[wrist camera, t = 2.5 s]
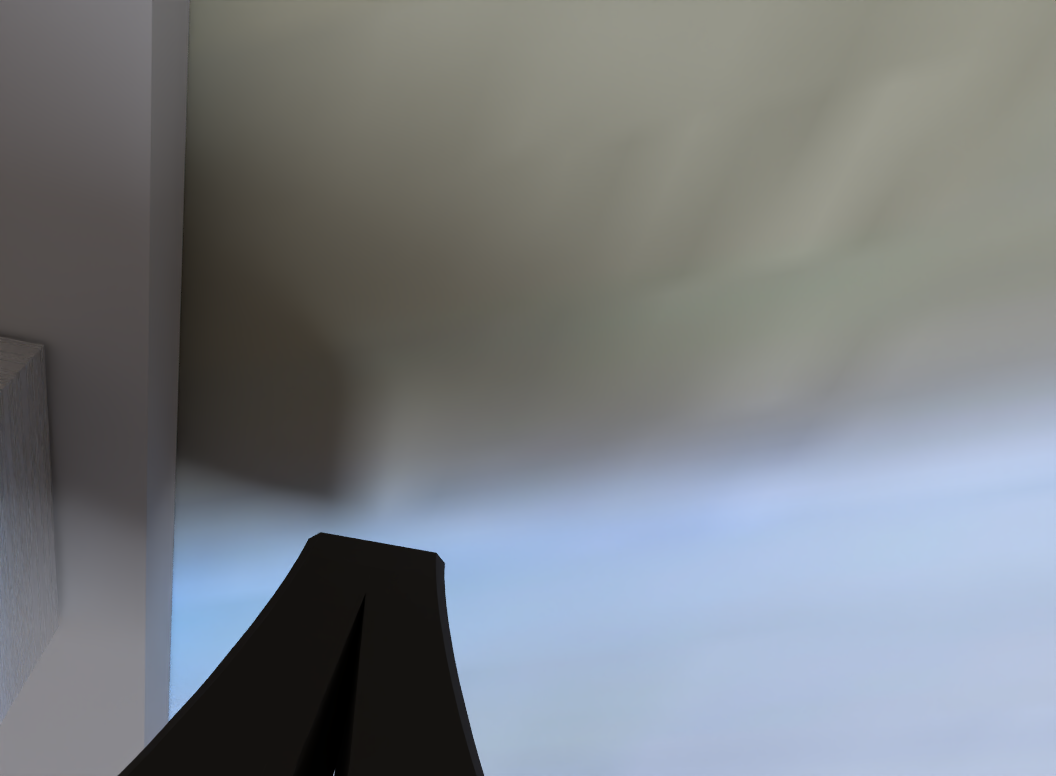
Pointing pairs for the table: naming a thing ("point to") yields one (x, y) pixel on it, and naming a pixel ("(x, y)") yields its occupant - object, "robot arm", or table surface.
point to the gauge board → (98, 354)
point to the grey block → (24, 518)
